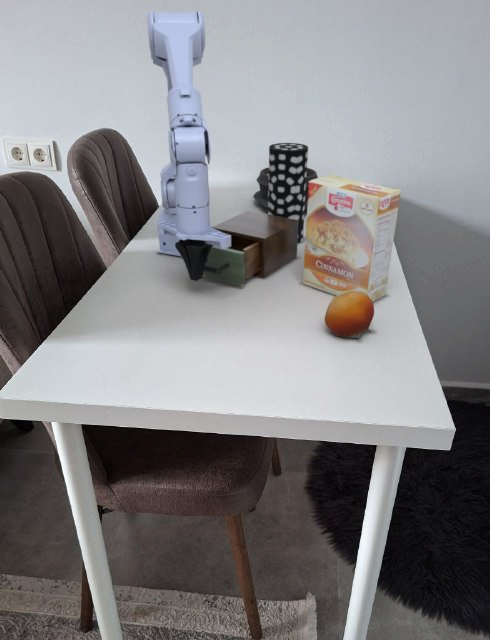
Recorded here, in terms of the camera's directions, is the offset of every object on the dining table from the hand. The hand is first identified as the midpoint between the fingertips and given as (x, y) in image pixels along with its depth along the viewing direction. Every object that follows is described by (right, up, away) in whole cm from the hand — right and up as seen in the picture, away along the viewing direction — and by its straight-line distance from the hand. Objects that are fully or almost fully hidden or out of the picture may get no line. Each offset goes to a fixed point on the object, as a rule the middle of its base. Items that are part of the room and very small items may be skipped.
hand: (196, 278), depth 105 cm
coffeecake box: (+28, -1, +5) cm, 28 cm away
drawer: (+6, +3, +9) cm, 11 cm away
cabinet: (+11, +7, +16) cm, 21 cm away
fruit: (+26, -11, -9) cm, 30 cm away
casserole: (+20, +31, +51) cm, 64 cm away
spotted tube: (+18, +15, +28) cm, 37 cm away
